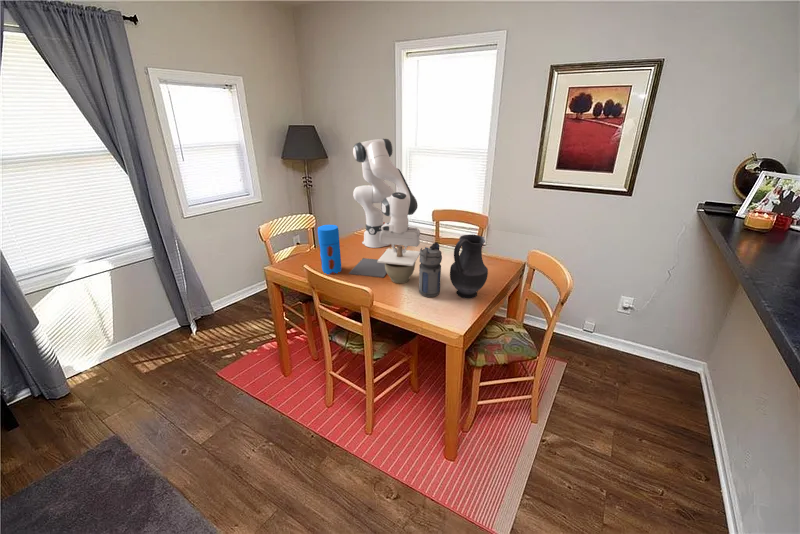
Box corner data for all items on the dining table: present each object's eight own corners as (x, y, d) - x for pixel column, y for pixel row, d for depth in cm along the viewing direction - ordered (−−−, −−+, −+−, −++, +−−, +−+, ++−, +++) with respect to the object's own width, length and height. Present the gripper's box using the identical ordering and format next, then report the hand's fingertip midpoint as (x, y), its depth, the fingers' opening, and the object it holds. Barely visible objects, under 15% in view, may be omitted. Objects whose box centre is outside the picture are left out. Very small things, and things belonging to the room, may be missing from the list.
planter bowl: (378, 282, 178) (378, 263, 174) (393, 271, 191) (393, 252, 187) (406, 289, 171) (406, 269, 167) (420, 276, 185) (420, 258, 180)
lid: (387, 249, 186) (387, 239, 184) (420, 252, 182) (420, 242, 180) (377, 262, 170) (376, 251, 168) (412, 266, 166) (412, 254, 164)
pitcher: (491, 293, 167) (498, 234, 155) (468, 310, 153) (474, 246, 141) (461, 282, 178) (465, 226, 165) (437, 297, 164) (439, 237, 151)
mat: (363, 258, 208) (363, 258, 208) (395, 262, 203) (395, 261, 203) (348, 273, 188) (348, 272, 188) (383, 277, 184) (383, 276, 183)
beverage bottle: (445, 289, 171) (447, 241, 161) (433, 300, 161) (435, 250, 151) (427, 284, 176) (428, 238, 166) (414, 295, 166) (415, 246, 155)
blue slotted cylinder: (322, 275, 187) (317, 231, 177) (321, 267, 196) (316, 225, 186) (342, 273, 190) (339, 229, 179) (340, 265, 199) (337, 223, 189)
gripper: (421, 226, 170) (420, 252, 176) (381, 223, 175) (382, 248, 180) (418, 230, 164) (418, 256, 170) (378, 226, 169) (378, 253, 175)
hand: (399, 252), depth 175 cm, fingers closed on lid, 3 cm apart
